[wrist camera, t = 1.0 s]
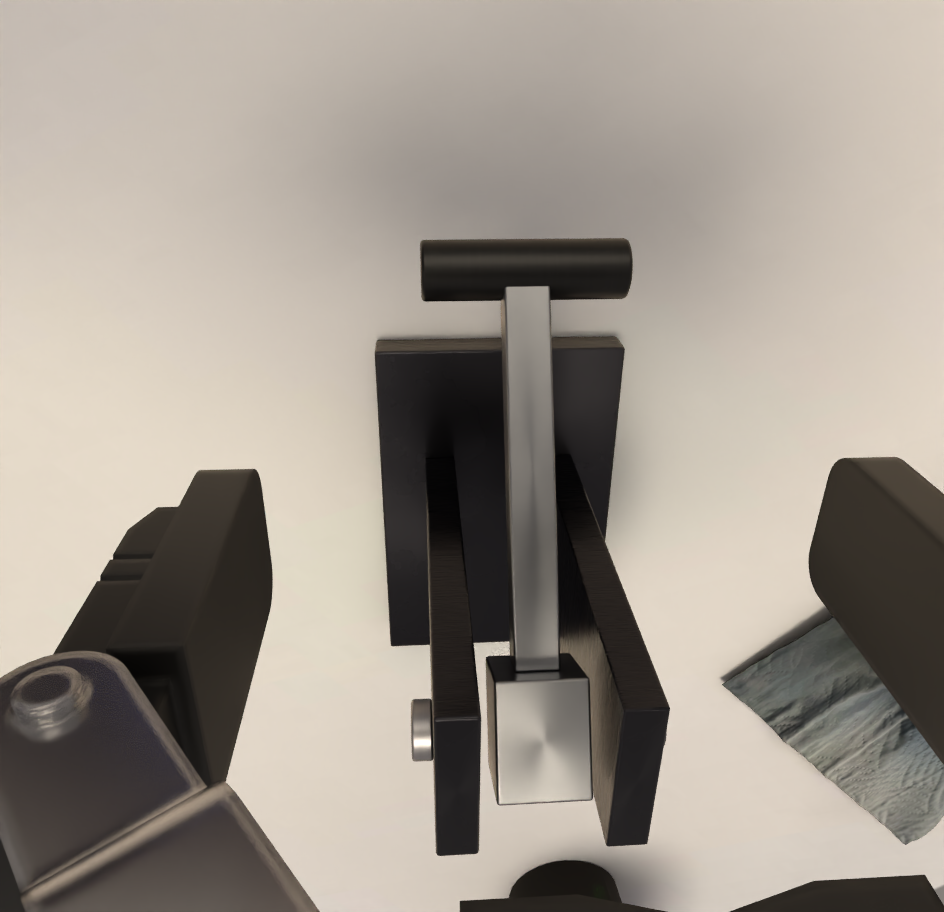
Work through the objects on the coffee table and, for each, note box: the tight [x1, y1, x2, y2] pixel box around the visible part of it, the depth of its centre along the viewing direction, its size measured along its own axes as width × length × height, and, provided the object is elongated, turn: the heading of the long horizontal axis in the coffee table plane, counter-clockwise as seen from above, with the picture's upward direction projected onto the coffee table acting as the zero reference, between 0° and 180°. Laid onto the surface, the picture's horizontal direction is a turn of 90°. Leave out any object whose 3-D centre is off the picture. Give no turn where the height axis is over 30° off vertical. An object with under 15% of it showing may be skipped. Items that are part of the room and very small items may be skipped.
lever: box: [420, 238, 633, 805], centre depth 19 cm, size 13×5×2 cm, turn 0°
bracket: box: [375, 336, 670, 856], centre depth 23 cm, size 12×8×13 cm, turn 0°
